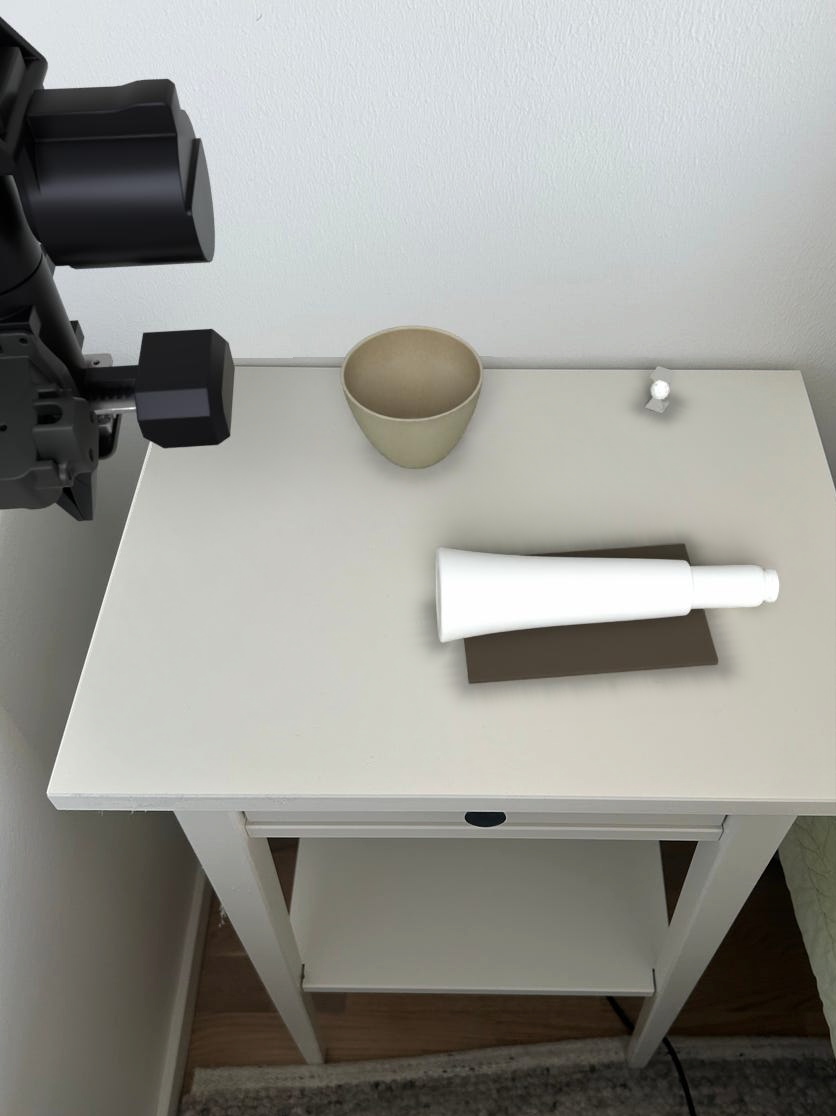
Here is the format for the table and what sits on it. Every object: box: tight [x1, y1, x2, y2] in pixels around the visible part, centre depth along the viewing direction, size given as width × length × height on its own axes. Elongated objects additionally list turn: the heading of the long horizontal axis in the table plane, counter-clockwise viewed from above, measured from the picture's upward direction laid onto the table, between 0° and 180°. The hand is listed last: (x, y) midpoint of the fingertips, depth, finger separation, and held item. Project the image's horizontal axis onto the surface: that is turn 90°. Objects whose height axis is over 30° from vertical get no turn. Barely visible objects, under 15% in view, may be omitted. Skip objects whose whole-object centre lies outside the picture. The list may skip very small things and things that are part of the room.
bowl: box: [339, 325, 484, 470], centre depth 73 cm, size 10×10×7 cm
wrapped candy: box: [644, 365, 677, 414], centre depth 77 cm, size 2×2×3 cm
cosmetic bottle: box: [434, 546, 780, 643], centre depth 65 cm, size 6×6×22 cm
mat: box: [463, 543, 719, 685], centre depth 67 cm, size 16×10×1 cm, turn 96°
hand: (87, 515), depth 55 cm, fingers closed
